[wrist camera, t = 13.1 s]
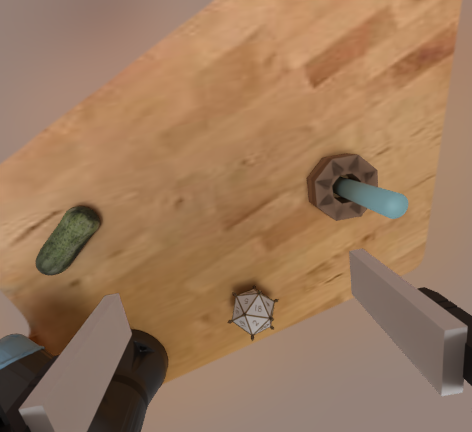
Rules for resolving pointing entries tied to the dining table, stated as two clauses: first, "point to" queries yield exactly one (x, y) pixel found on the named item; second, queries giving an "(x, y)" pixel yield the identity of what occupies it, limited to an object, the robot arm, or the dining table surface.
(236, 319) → the game die
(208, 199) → the dining table surface
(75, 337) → the robot arm
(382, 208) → the teal rounded stick
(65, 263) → the vegetable
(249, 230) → the dining table surface
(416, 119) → the dining table surface
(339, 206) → the bead
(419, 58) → the dining table surface
